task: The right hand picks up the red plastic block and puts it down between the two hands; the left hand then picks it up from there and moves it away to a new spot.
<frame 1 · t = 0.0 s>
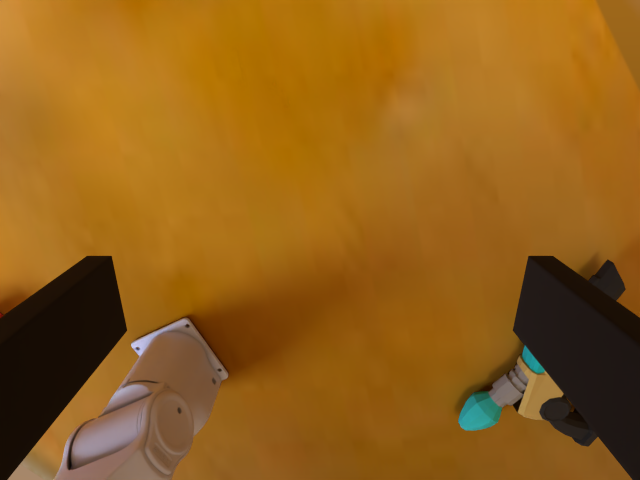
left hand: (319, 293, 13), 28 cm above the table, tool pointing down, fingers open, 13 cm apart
toy gun 2: (556, 354, 47), on the table
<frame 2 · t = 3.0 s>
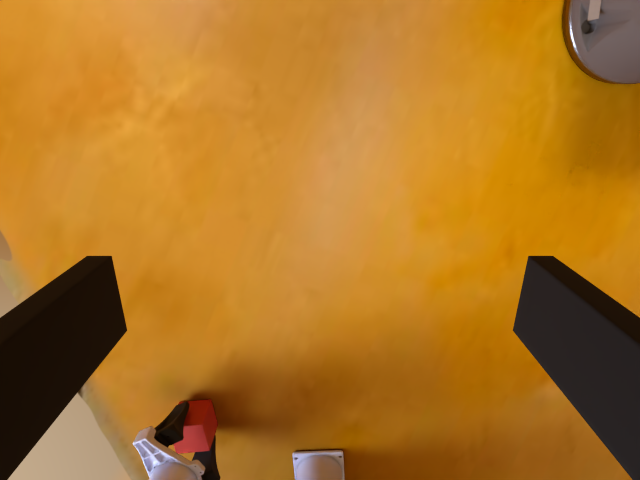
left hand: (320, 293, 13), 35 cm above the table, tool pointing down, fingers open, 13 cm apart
right hand: (196, 421, 58), fingers closed on block, 6 cm apart
block: (198, 413, 59), on the table, touching right hand
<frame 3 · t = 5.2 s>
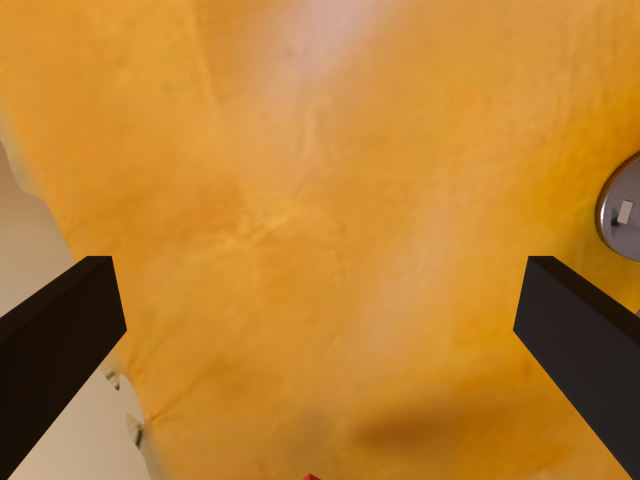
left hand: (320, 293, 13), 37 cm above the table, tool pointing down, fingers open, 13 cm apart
when the right hand's fingers open (2 cm above the table, at t = 7.8 s): block stays where it is, on the table.
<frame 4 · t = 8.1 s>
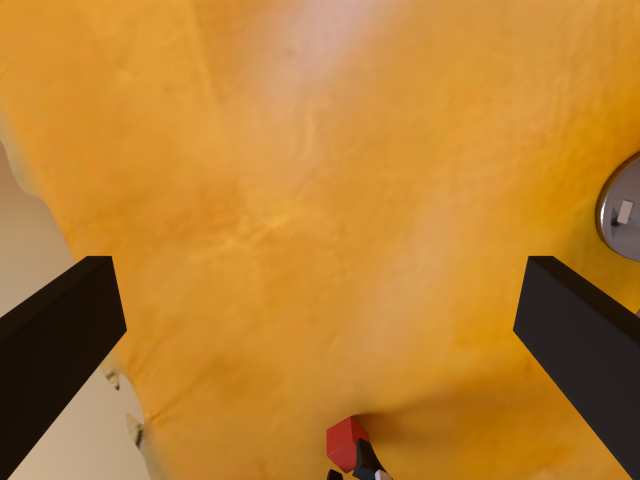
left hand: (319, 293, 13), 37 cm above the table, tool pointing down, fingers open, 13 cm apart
block: (347, 432, 64), on the table
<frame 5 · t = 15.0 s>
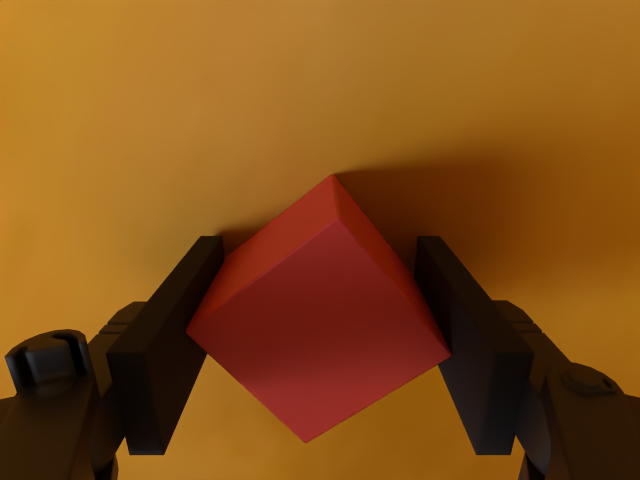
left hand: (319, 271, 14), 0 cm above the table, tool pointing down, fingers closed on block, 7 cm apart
block: (320, 265, 14), on the table, touching left hand
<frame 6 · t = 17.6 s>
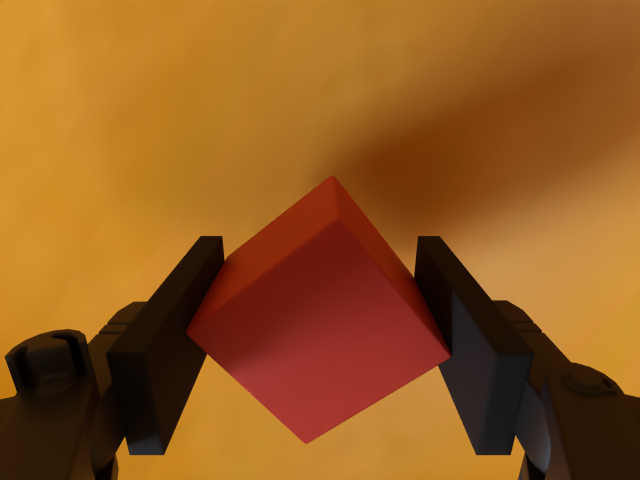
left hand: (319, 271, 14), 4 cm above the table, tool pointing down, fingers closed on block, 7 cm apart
block: (320, 266, 14), point 3 cm above the table, touching left hand
when the left hand's fingers open (1 cm above the table, at t = 20.5 s): block stays where it is, on the table.
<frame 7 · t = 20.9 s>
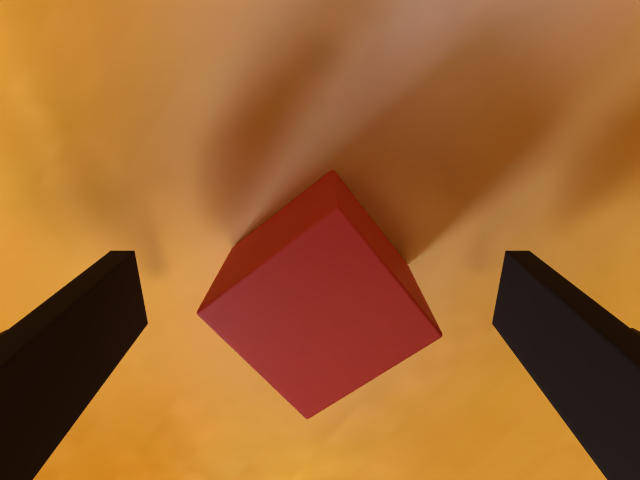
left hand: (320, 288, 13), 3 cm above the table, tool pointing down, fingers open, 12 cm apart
block: (320, 256, 15), on the table
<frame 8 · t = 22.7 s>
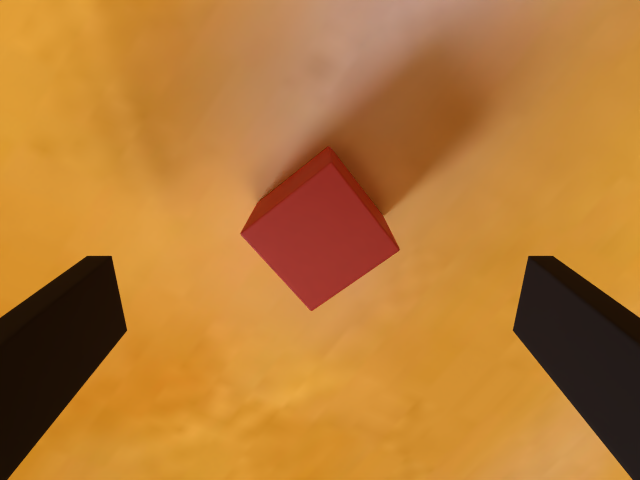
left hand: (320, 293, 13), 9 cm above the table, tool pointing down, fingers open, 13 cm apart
block: (320, 210, 21), on the table
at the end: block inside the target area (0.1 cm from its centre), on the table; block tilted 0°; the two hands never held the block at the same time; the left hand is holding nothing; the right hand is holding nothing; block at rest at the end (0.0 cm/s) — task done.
